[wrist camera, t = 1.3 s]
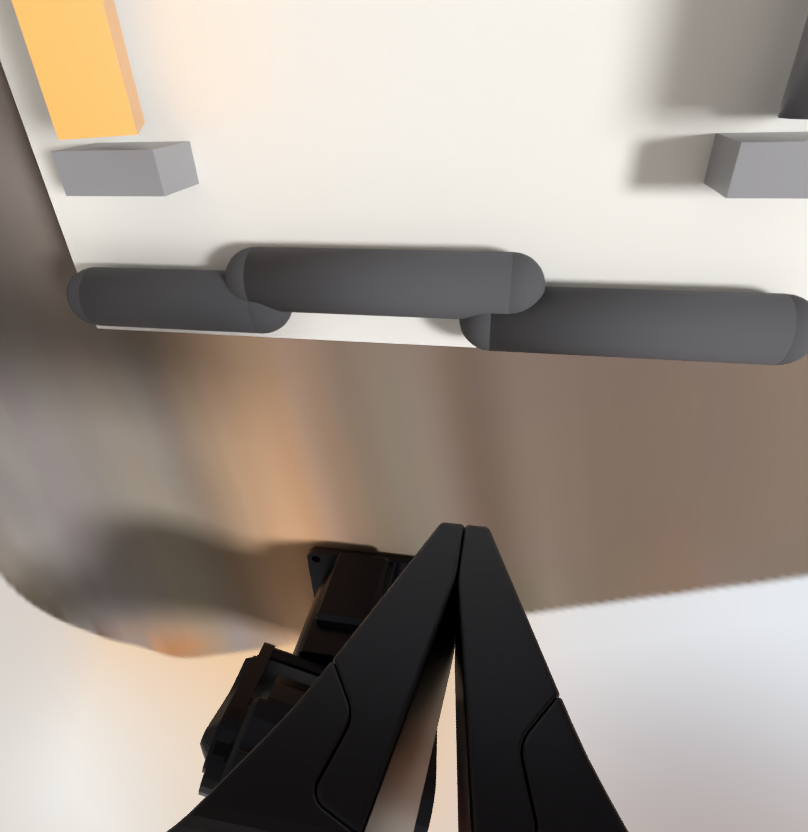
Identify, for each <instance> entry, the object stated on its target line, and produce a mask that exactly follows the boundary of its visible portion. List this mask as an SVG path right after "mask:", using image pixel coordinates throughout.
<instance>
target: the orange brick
mask: <svg viewBox="0 0 808 832" xmlns="http://www.w3.org/2000/svg"><path fill="white" fill-rule="evenodd" d="M11 1H12V4H13V7H14V10H15V13H16V16H17V19H18V22H19V25H20V28H21V30H22V33H23V36H24V39H25V42H26V45H27V48H28V51H29V54H30V57H31V60H32V63H33V66H34V69H35V72H36V75H37V78H38V81H39V84H40V87H41V90H42V93H43V96H44V99H45V102H46V105H47V108H48V111H49V114H50V117H51V120H52V123H53V126H54V129H55V132H56V135H57V138H58V140H64V139H80V138H95V137H111V136H126V135H138V133H139V132H140V130H141V128H142V127H143V125H144V124H145V120H144V116H143V113H142V109H141V105H140V101H139V97H138V93H137V89H136V85H135V81H134V77H133V73H132V69H131V65H130V62H129V58H128V54H127V50H126V46H125V42H124V38H123V34H122V30H121V26H120V22H119V18H118V15H117V11H116V7H115V3H114V0H11Z"/></svg>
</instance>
